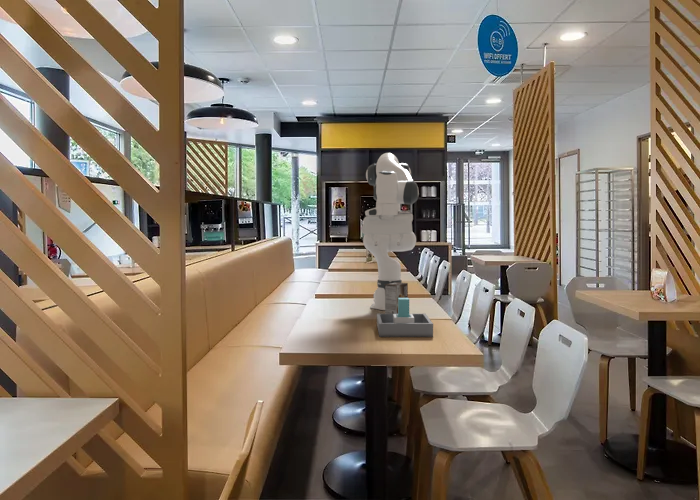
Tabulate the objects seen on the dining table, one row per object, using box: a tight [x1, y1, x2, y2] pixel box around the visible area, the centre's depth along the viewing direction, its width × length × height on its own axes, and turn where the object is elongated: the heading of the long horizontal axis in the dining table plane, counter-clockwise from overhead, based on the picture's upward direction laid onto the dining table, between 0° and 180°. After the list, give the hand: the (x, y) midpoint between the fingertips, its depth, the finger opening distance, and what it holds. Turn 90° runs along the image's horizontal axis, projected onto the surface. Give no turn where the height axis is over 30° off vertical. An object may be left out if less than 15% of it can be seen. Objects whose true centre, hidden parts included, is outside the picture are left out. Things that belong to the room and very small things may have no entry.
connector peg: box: [398, 297, 410, 317], centre depth 192 cm, size 4×4×12 cm
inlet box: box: [376, 313, 434, 338], centre depth 192 cm, size 20×20×6 cm
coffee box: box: [384, 282, 409, 314], centre depth 213 cm, size 9×6×16 cm
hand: (387, 245), depth 199 cm, fingers open, 8 cm apart
